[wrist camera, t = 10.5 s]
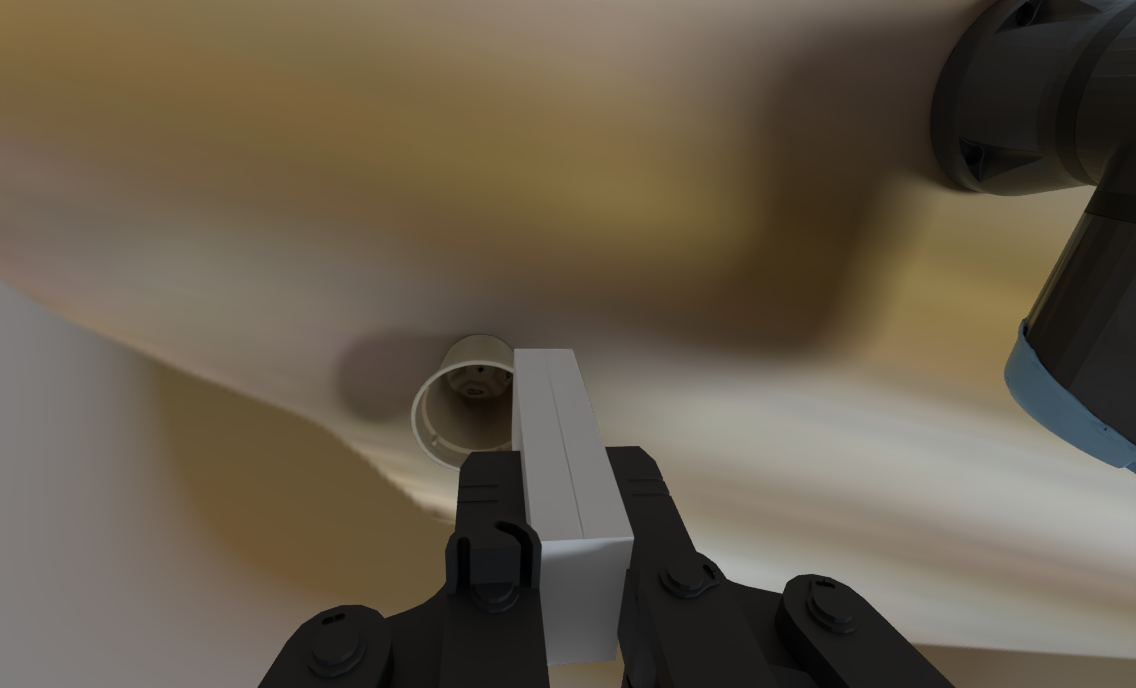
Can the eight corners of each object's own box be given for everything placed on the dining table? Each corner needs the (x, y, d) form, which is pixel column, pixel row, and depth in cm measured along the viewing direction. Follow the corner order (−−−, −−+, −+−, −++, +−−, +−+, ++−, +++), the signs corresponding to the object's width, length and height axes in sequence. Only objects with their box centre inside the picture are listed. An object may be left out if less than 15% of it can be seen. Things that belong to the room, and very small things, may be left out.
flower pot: (409, 327, 44) (392, 377, 36) (523, 304, 44) (530, 348, 36) (440, 422, 48) (431, 486, 40) (544, 400, 48) (555, 458, 41)
